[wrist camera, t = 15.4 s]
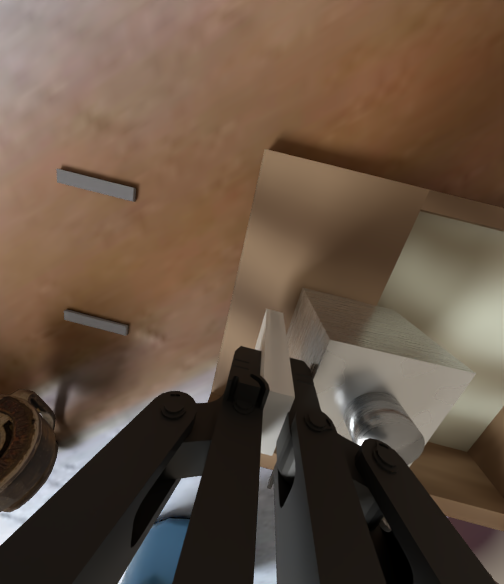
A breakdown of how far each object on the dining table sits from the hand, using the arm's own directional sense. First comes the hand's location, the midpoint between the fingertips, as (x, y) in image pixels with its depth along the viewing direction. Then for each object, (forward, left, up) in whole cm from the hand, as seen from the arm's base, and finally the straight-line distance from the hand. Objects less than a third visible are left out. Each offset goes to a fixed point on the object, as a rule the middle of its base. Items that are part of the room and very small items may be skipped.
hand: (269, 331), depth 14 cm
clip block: (0, +4, -2) cm, 5 cm away
